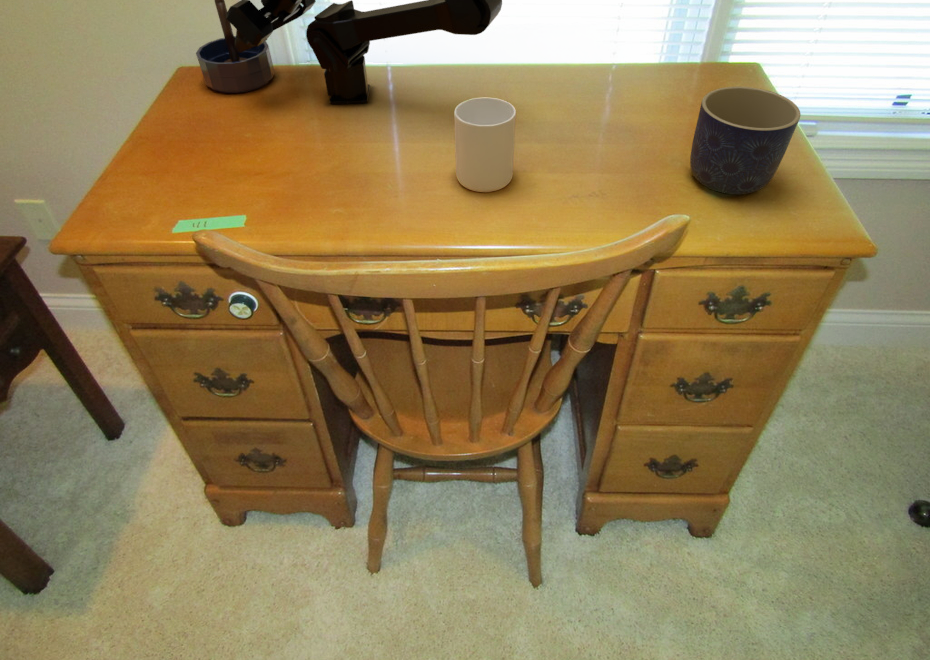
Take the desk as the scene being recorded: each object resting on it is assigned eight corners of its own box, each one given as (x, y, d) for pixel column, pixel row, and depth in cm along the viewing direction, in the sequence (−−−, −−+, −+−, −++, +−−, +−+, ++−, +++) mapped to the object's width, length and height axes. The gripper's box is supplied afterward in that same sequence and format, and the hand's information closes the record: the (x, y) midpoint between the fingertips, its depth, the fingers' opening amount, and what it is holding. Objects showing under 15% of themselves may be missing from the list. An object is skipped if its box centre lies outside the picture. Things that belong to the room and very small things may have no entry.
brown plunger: (256, 77, 116) (236, -3, 106) (231, 84, 114) (208, 3, 104) (248, 68, 118) (227, -11, 109) (223, 74, 117) (199, -6, 107)
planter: (695, 203, 87) (717, 130, 79) (674, 157, 95) (691, 86, 88) (785, 202, 87) (816, 128, 79) (756, 155, 95) (781, 85, 88)
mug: (453, 151, 97) (451, 86, 90) (506, 149, 98) (508, 84, 90) (457, 195, 89) (456, 127, 82) (516, 192, 89) (519, 124, 82)
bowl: (280, 64, 121) (273, 34, 117) (268, 93, 112) (260, 62, 108) (215, 66, 121) (206, 36, 117) (198, 95, 112) (187, 64, 108)
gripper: (284, -84, 103) (244, -15, 114) (218, -52, 91) (180, 21, 101) (336, -26, 107) (292, 34, 117) (278, 12, 94) (236, 76, 105)
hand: (252, 40), depth 110 cm, fingers open, 9 cm apart
